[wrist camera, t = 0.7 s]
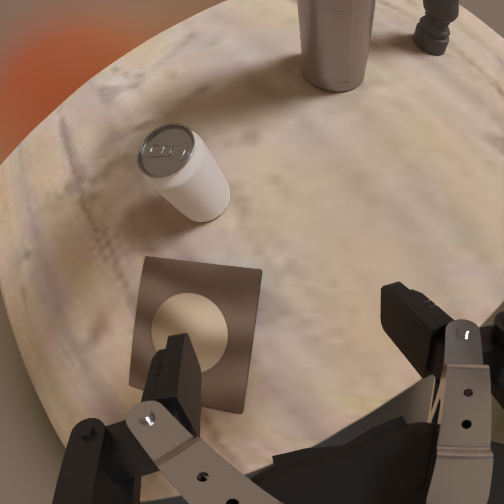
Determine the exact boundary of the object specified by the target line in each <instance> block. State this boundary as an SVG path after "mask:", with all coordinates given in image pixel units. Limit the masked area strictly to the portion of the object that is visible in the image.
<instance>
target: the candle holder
mask: <svg viewBox="0 0 504 504" xmlns="http://www.w3.org/2000/svg"><path fill="white" fill-rule="evenodd" d="M423 5H424V9H425V11H426V12H425V14H426V15H425V16H423V17H421V18H420V22H419V23H418V24H417V26H416V29H415V33H414V37H413V41H414V42H415V44H416V45H417V46H418V47H419V48H420V49H422V50H423V51H425V52H427V53H429V54H432V55H437V56H439V55H443V54H444V52H445V50H446V47H447V45H448V42H449V35H450V30H449V28H448V25H449V24H450V22H453V21H454V20H455V19H456V18H457V17H458V13H459V0H423Z"/></svg>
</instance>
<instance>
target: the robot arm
mask: <svg viewBox="0 0 504 504" xmlns="http://www.w3.org/2000/svg"><path fill="white" fill-rule="evenodd" d="M297 4H298V15H299V26H300V39H301V55H302V70H303V74H304V76H305V77H306V79H307V80H308V81H309V82H310V83H312V84H313V85H315V86H317V87H319V88H321V89H325V90H328V91H338V92H342V91H348V90H352V89H354V88H356V87H358V86H359V85H360V84H361V83H362V81H363V79H364V74H365V69H366V63H367V58H368V52H369V45H370V39H371V32H372V25H373V18H374V10H375V0H297ZM381 324H382V327H383V329H384V331H385V332H386V334H387V335H388V336H389V337H390V338H391V340H392V341H393V342H394V343H395V345H396V346H397V347H398V348H399V349H400V351H401V352H402V353H403V354H404V356H405V357H406V358H407V359H408V361H409V362H410V363H411V364H412V366H413V367H414V368H415V369H416V371H417V372H418V373H419V375H420V376H421V377H422V378H426V377H428V376H430V375H432V374H433V375H434V376H435V379H434V384H433V391H432V399H431V405H430V411H429V416H428V421H427V422H413V423H406V422H405V420H404V419H403V417H402V416H400V417H398V418H395V419H393V420H390V421H388V422H385V423H383V424H381V425H378V426H375V427H373V428H371V429H369V430H368V431H366V432H365V433H363V434H361V435H360V436H358V437H357V438H355V439H353V440H351V441H350V442H348V443H346V444H344V445H341V446H332V447H320V448H305V449H301V450H297V451H293V452H289V453H284V454H280V455H275V456H272V458H273V463H274V465H272V466H270V467H268V468H266V469H264V470H262V471H260V472H259V473H257V474H256V475H254V476H253V477H252V478H251V479H250V480H249V479H248V478H247V477H245V476H244V475H243V474H242V473H241V472H239V471H238V470H237V469H236V468H234V467H233V466H232V465H231V464H229V463H228V462H227V461H226V460H225V459H224V458H222V457H221V456H220V455H219V454H218V453H217V452H215V451H214V450H213V449H212V448H211V447H210V446H209V445H208V444H206V443H205V442H204V441H203V440H202V439H201V438H200V411H201V381H202V374H201V368H200V364H199V361H198V358H197V356H196V353H195V351H194V348H193V345H192V343H191V340H190V337H189V335H188V334H187V333H182V334H176V335H171V336H168V339H167V343H166V348H165V349H161V350H158V351H157V353H156V354H155V355H154V357H153V358H152V360H151V364H150V370H149V371H148V377H147V379H146V383H145V388H144V392H143V396H142V400H141V403H139V404H137V405H135V406H134V407H133V408H131V410H130V411H129V412H128V414H127V416H126V420H124V421H122V422H119V423H115V424H112V425H109V426H105V425H104V424H103V423H102V421H100V420H99V419H96V418H88V419H85V420H82V421H81V422H79V423H78V424H77V425H76V426H75V427H74V428H73V430H72V432H71V435H70V438H69V441H68V445H67V448H66V452H65V455H64V458H63V462H62V466H61V469H60V473H59V477H58V481H57V485H56V489H55V493H54V498H53V503H52V504H140V488H141V476H143V475H147V474H150V473H153V472H157V471H161V472H162V473H163V475H164V476H165V477H166V478H167V479H168V480H169V482H170V483H171V484H172V485H173V486H174V487H175V489H176V490H177V491H178V492H179V493H180V494H181V495H182V496H183V497H184V499H185V500H186V501H188V503H189V504H504V444H500V443H497V442H493V441H491V394H492V395H493V396H494V398H495V399H496V400H497V401H498V403H499V404H500V405H501V407H502V408H503V409H504V311H503V312H500V313H498V314H497V315H496V316H495V319H494V323H493V325H491V326H486V327H481V328H479V327H478V326H477V325H476V324H475V323H473V322H471V321H469V320H463V319H459V320H453V319H452V318H451V317H450V316H449V315H447V314H446V313H445V312H444V311H443V310H442V309H440V308H439V307H438V306H437V305H436V306H435V304H434V303H433V302H432V301H431V300H429V299H428V298H427V297H426V296H425V295H424V294H422V293H420V292H418V291H415V290H412V289H411V290H409V289H408V288H407V287H405V286H404V285H403V284H402V283H401V282H395V283H392V284H388V285H385V286H383V287H382V288H381Z"/></svg>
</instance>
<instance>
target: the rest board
mask: <svg viewBox="0 0 504 504" xmlns="http://www.w3.org/2000/svg"><path fill="white" fill-rule="evenodd" d="M261 278H262V270H261V269H252V268H243V267H234V266H225V265H216V264H208V263H199V262H190V261H182V260H174V259H165V258H157V257H149V256H145V262H144V267H143V273H142V279H141V285H140V292H139V299H138V306H137V313H136V321H135V329H134V337H133V347H132V357H131V368H130V381H129V385H130V386H133V387H136V388H140V389H143V390H144V388H145V383H146V379H147V377H148V371H149V370H150V364H151V360H152V358H153V357H154V355H155V354H156V353H157V351H158V350H161V349H165V348H166V343H167V339H168V336H171V335H176V334H182V333H187V334H188V335H189V337H190V340H191V343H192V345H193V348H194V351H195V353H196V356H197V358H198V361H199V364H200V368H201V374H202V381H201V406H204V407H209V408H213V409H218V410H223V411H227V412H232V413H238V414H242V412H243V409H244V402H245V395H246V388H247V381H248V374H249V367H250V359H251V352H252V345H253V338H254V330H255V323H256V315H257V308H258V300H259V293H260V285H261Z"/></svg>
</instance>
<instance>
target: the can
mask: <svg viewBox="0 0 504 504" xmlns="http://www.w3.org/2000/svg"><path fill="white" fill-rule="evenodd" d="M137 163H138V166H139V168H140V170H141V172H142V175H143V177H144V179H145V180H146V182H147V183H148V184H149V185H150V186H151V187H152V188H153V189H155V190H156V191H157V192H158V193H159V194H160V195H161V196H163V197H164V198H165V199H166V200H167V201H168V202H169V203H171V204H172V205H173V206H174V207H175V208H176V209H178V210H179V211H180V212H181V213H182V214H183V215H185V216H186V217H187V218H189V219H190V220H193V221H196V222H207V221H211V220H213V219H215V218H217V217H218V216H219V215H221V214H222V213H223V212H224V210H225V209H226V208H227V206H228V203H229V200H230V188H229V185H228V183H227V181H226V180H225V178H224V176H223V174H222V172H221V171H220V169H219V167H218V166H217V164H216V162H215V160H214V159H213V157H212V155H211V154H210V152H209V150H208V149H207V147H206V145H205V144H204V142H203V141H202V139H201V138H200V137H199V135H197V134H196V133H195V132H193V131H191V130H190V129H189V128H188V127H186V126H185V125H182V124H178V123H171V124H166V125H163V126H160V127H158V128H156V129H155V130H153V131H152V132H151V133H150V134H149V135H148V136H147V137H146V138H145V139H144V140H143V142H142V143H141V145H140V148H139V150H138V154H137Z"/></svg>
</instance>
